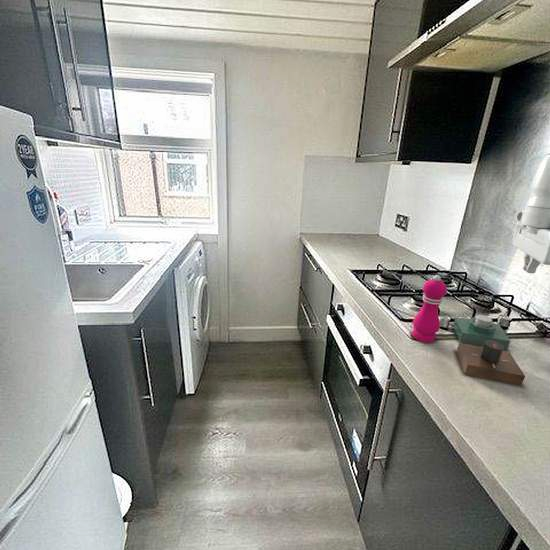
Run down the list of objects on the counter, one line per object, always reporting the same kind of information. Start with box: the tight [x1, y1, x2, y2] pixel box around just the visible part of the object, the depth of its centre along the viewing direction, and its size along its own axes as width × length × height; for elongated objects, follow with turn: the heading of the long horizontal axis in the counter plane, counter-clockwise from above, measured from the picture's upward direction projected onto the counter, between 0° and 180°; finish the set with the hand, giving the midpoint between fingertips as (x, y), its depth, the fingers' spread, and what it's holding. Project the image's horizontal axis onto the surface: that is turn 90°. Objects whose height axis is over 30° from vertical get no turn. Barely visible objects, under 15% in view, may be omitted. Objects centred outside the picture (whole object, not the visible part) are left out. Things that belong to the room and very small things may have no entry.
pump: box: [475, 314, 493, 327], centre depth 90 cm, size 4×4×2 cm
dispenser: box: [452, 316, 511, 352], centre depth 91 cm, size 12×10×5 cm
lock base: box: [456, 342, 526, 387], centre depth 78 cm, size 12×10×3 cm
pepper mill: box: [411, 274, 448, 343], centre depth 87 cm, size 7×7×20 cm
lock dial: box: [481, 340, 504, 363], centre depth 76 cm, size 4×4×4 cm
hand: (528, 271), depth 79 cm, fingers closed
